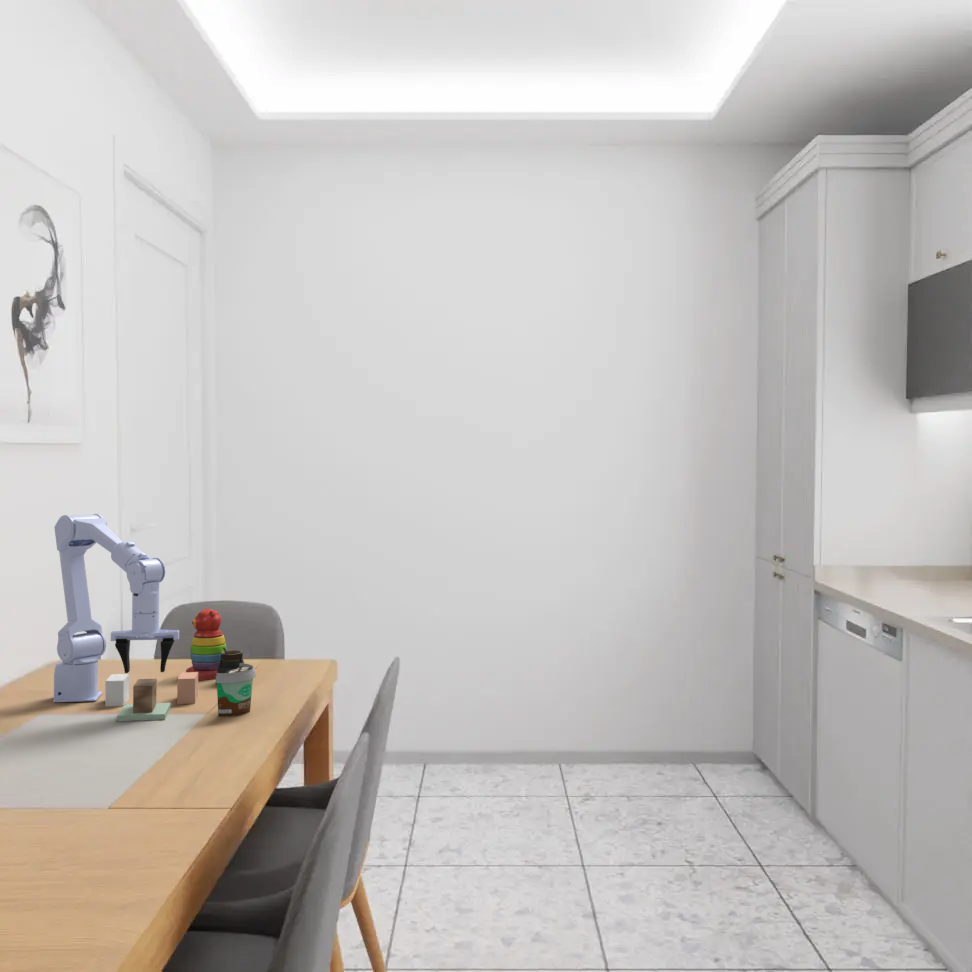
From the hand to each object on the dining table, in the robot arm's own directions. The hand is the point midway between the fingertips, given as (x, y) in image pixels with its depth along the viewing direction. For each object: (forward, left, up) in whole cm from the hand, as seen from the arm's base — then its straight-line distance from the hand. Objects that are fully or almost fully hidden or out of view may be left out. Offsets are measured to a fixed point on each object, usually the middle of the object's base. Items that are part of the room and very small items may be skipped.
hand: (145, 671), depth 211 cm
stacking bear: (+10, +36, -10) cm, 39 cm away
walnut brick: (0, -1, -8) cm, 8 cm away
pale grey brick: (-8, +10, -9) cm, 16 cm away
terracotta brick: (+8, +10, -9) cm, 16 cm away
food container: (+21, -3, -10) cm, 23 cm away
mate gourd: (+17, +27, -10) cm, 34 cm away
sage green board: (0, -2, -9) cm, 9 cm away
